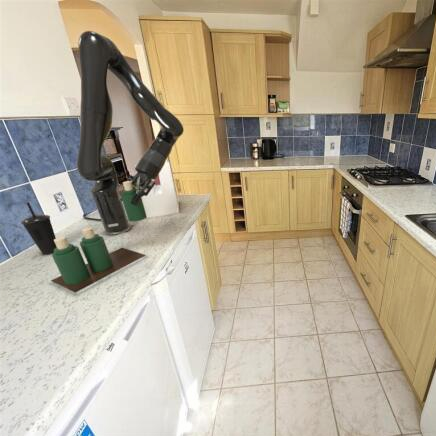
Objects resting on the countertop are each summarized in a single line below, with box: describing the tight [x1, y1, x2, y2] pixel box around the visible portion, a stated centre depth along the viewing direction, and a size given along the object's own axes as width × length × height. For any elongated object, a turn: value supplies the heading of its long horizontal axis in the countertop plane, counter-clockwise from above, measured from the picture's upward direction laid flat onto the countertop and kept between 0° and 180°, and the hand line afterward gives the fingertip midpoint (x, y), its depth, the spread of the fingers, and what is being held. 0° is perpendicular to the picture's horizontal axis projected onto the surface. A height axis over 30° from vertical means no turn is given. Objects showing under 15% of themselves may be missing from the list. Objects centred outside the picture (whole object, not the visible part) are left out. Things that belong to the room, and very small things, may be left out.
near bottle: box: [51, 236, 90, 285], centre depth 73 cm, size 6×6×14 cm
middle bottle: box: [79, 226, 113, 272], centre depth 78 cm, size 6×6×14 cm
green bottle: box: [120, 180, 147, 222], centre depth 89 cm, size 6×6×14 cm
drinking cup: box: [20, 202, 57, 255], centre depth 90 cm, size 8×8×20 cm
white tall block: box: [134, 161, 180, 219], centre depth 128 cm, size 19×15×25 cm
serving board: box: [50, 247, 146, 294], centre depth 81 cm, size 14×22×1 cm, turn 155°
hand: (127, 202), depth 88 cm, fingers closed on green bottle, 6 cm apart
